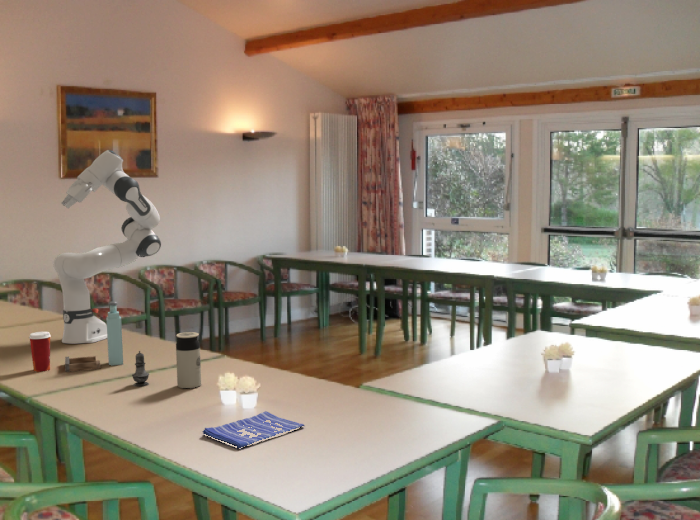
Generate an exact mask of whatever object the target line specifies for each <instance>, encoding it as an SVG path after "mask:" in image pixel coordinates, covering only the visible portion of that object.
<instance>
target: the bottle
mask: <svg viewBox="0 0 700 520" xmlns="http://www.w3.org/2000/svg"><path fill="white" fill-rule="evenodd" d="M108 306H109V311H108V312H107V316H106V318H105V320H106V325H107V338H106V340H107V354H108V355H107V357H108V366H109V365H111V366H117V365H118V366H120V365H121V366H122V365H124V348H123V347H124V346H123V331H122V329H123V327H122V326H123V325H122V316H120V312H119V310H118V311H117V307H118V301H109V302H108Z"/></svg>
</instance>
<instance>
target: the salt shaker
mask: <svg viewBox="0 0 700 520" xmlns="http://www.w3.org/2000/svg"><path fill="white" fill-rule="evenodd" d="M134 366H135V372H134V373H132V375H131V376H132V379H133V382H134V383H133V384H132V385H133V387H136V388H139V387H141V388H142V387H146V386H149V385H150V383H149V382H148V380H149V377H150V372H147V371H146V368H145V367H146V362H145V355H144V353H143V352H141V350H139V351H138V353H136V355H135V363H134Z"/></svg>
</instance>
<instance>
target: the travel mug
mask: <svg viewBox="0 0 700 520" xmlns="http://www.w3.org/2000/svg"><path fill="white" fill-rule="evenodd" d="M199 334H200V333H198V332H193V331H190V332H189V331H187V332H186V331H185V332H180V333H177V334H176V335H175V336H176V337H177V340H176V343H175V351H176V352H175V355H176V377H177V388H180V389H183V388H190V389H196V388H198V387H200V386H201V385H202V370H201V368H202V367H201V363H202V362H201V343H200V341H199V339H198V338H199ZM195 387H196V388H195Z"/></svg>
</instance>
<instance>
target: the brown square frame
mask: <svg viewBox="0 0 700 520" xmlns="http://www.w3.org/2000/svg"><path fill="white" fill-rule="evenodd" d="M100 361H101V360H99V359H98V360H97V359H96V355H92V356H91V355H90V356H80V357H70V356H64V370H65V373H68V372H69V373H70V371H71V372H81V371H88V370H89V371H90V370H100V369H101V363H100ZM80 370H81V371H80Z"/></svg>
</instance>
